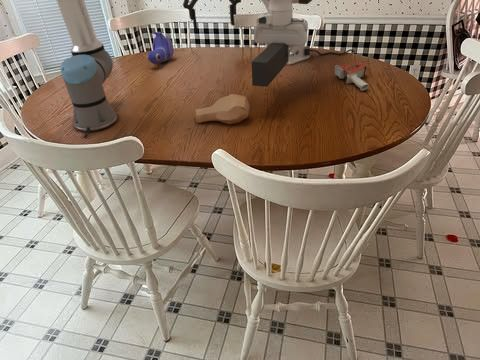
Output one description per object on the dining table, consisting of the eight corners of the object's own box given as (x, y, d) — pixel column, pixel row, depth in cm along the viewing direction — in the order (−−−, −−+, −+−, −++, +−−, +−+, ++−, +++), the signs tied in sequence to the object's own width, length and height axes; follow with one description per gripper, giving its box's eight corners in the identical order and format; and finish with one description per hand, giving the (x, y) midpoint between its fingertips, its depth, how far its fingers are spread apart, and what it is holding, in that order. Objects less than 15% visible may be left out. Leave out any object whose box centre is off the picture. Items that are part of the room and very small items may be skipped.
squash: (253, 125, 125) (249, 104, 119) (198, 134, 127) (191, 114, 121) (250, 107, 133) (246, 86, 126) (198, 116, 134) (192, 96, 128)
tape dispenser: (364, 96, 143) (378, 76, 155) (367, 83, 139) (381, 65, 152) (323, 87, 150) (339, 69, 163) (324, 75, 147) (341, 57, 159)
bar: (267, 87, 122) (266, 62, 117) (252, 85, 124) (251, 61, 119) (288, 61, 142) (289, 40, 137) (275, 60, 144) (275, 39, 139)
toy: (162, 64, 198) (141, 70, 176) (157, 31, 191) (135, 33, 169) (178, 63, 196) (160, 69, 173) (174, 30, 189) (154, 32, 167)
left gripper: (242, -46, 121) (244, 20, 133) (168, -40, 116) (178, 28, 129) (247, -45, 115) (250, 25, 127) (170, -39, 110) (181, 33, 123)
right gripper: (310, 16, 130) (307, 55, 138) (257, 15, 137) (258, 51, 145) (306, 20, 125) (304, 60, 133) (251, 19, 132) (252, 56, 140)
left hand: (214, 26), depth 128 cm, fingers open, 13 cm apart
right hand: (279, 55), depth 139 cm, fingers closed on bar, 5 cm apart
